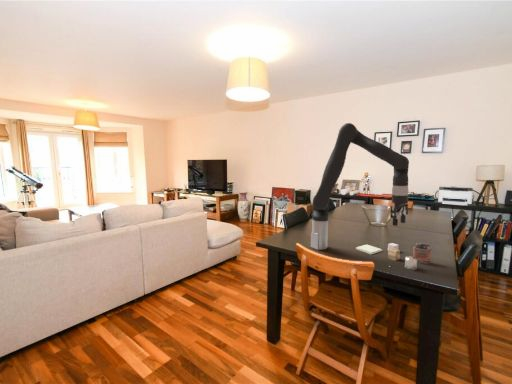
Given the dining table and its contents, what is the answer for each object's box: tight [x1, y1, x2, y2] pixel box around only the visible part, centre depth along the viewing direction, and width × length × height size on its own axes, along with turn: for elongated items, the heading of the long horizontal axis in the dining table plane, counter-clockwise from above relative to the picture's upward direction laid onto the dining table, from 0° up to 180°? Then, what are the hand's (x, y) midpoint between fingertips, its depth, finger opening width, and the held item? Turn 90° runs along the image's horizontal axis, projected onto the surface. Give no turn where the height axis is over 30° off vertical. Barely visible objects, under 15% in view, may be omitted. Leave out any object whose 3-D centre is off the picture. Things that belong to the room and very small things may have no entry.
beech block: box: [387, 248, 401, 261], centre depth 136 cm, size 4×4×5 cm
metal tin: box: [404, 255, 418, 271], centre depth 124 cm, size 5×5×5 cm
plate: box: [355, 244, 383, 255], centre depth 149 cm, size 10×10×1 cm
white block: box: [387, 242, 399, 250], centre depth 147 cm, size 4×4×4 cm
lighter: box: [412, 242, 432, 265], centre depth 131 cm, size 8×3×10 cm, turn 69°
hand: (399, 224), depth 134 cm, fingers open, 8 cm apart
